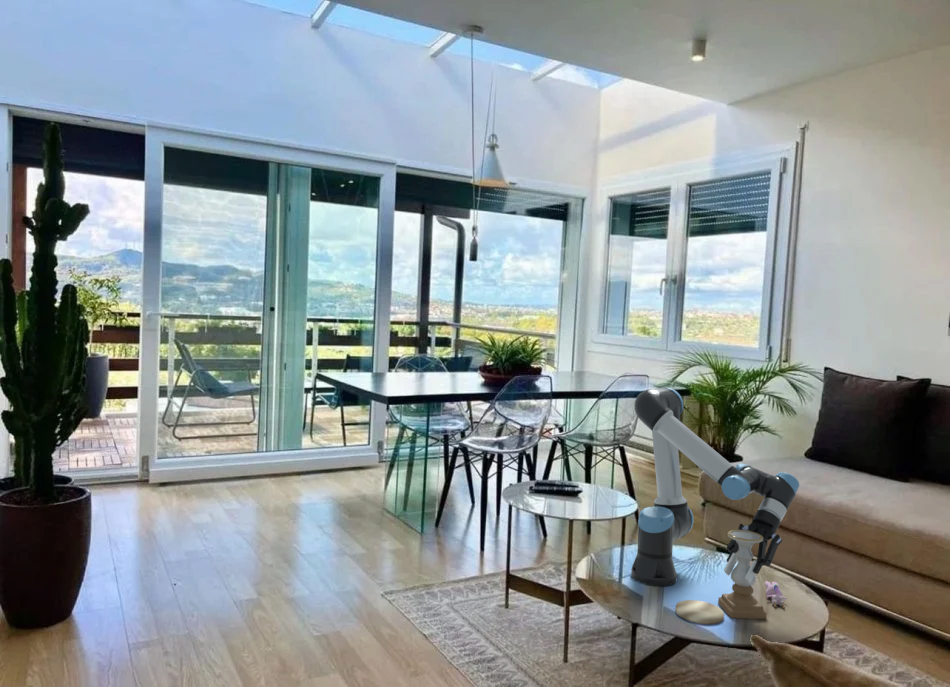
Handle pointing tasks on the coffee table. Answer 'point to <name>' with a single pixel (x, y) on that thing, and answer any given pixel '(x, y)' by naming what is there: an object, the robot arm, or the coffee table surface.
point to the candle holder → (742, 580)
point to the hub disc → (699, 612)
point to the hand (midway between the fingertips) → (736, 576)
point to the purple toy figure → (775, 594)
